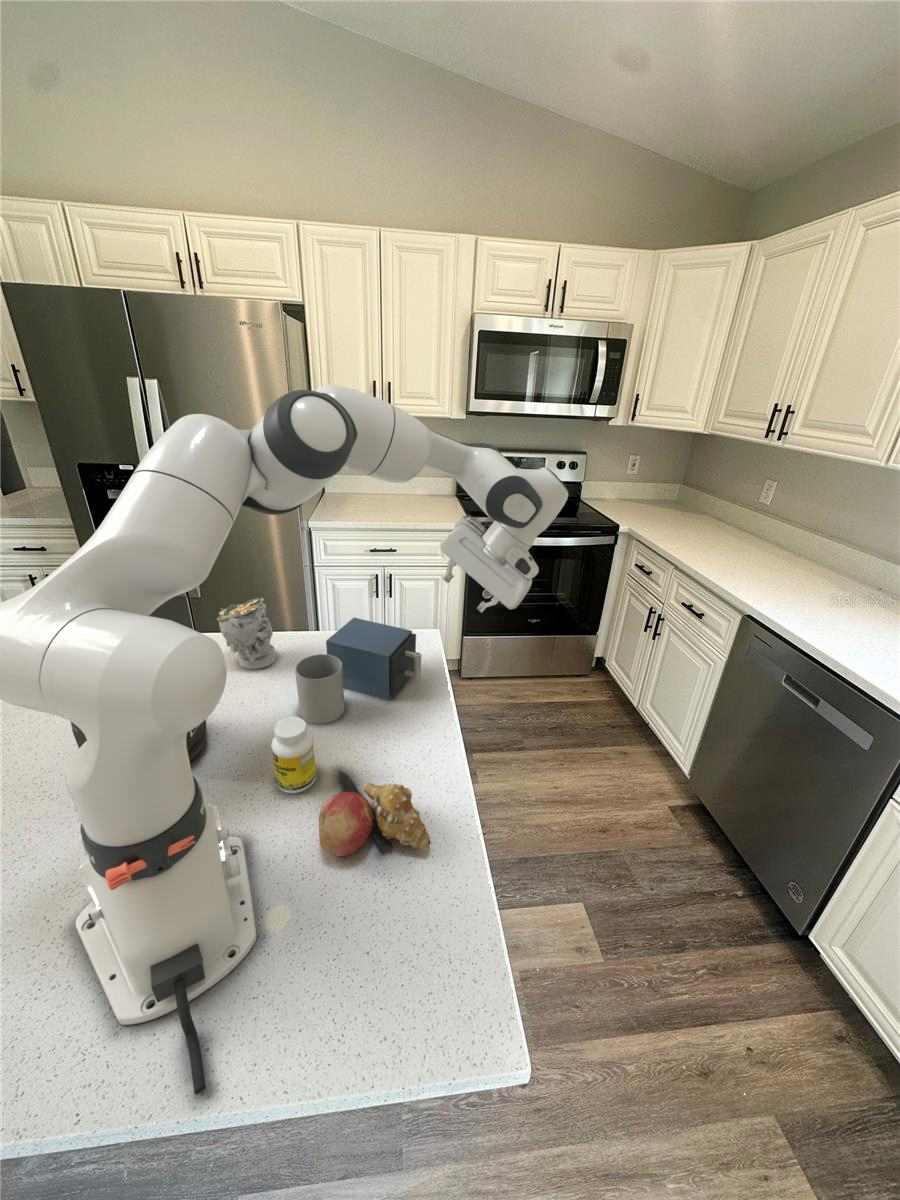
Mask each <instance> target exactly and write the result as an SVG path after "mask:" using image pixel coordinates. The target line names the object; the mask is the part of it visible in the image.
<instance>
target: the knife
mask: <svg viewBox="0 0 900 1200" xmlns="http://www.w3.org/2000/svg"><path fill="white" fill-rule="evenodd" d="M349 775H350V774H347V773H346V772H343V771H342V770H340V769H338V776H339V781H340V785H341V787H342V788H343V791H344V790H345V791H344V792H356V793H359V794H360V795H362V793H361V792H360V790H359V789H358V787H357V786H356V784H355V783H354V781H353V779H352V778H351V776H349ZM371 808H372V811H373V812H375V810H374V809H373V806H372V807H371ZM373 816H374V814H373ZM376 819H377V818H376V816H374V824H373V827H372V829H371V832H370V835H371V837H372V838H373V840H374V841H375V843H376V845H377V846H378V848H379V850H380V851H382V852H386V851H391V850H392V849H393V846H392V845H393V841H392V840H390V839H386V838H385V836H384V835H382V832H381V830H380V829H379V828H378V824H377V820H376Z"/></svg>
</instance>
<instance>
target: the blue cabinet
mask: <svg viewBox="0 0 900 1200" xmlns="http://www.w3.org/2000/svg"><path fill="white" fill-rule="evenodd" d="M412 634H413V630H412V629H407V628H401V627H398V626H393V625H388V624H384V623H379V622H375V621H371V620H366V619H362V618H359V617H353V618H351V619H350V620H349V621H348V622H347V623H346V624H344V625H343V626H342V627H340V629H338V630H337V631H336V632H335V633H334V634H332V635H331V636H330V637H329V638H327V639H326V640H325V646H326V655H332V656H334V657H337V658H338V659H339V660H340V661H341V662H342V672H343V689H346V690H350V691H354V692H357V693H361V694H365V695H367V696H372V697H375V698H379V699H383V700H387V701H391V699H392V697H391V666H390V658H391V657H392V656H393V655H394V653H395V652H396V651H397V650H398V649H399V648H400V647H401V646H402V645H403V644H404V643H405V641H406V640H407V639H408V638H409V637H410V636H411V635H412Z"/></svg>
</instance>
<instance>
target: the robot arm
mask: <svg viewBox="0 0 900 1200" xmlns="http://www.w3.org/2000/svg"><path fill="white" fill-rule="evenodd" d="M424 467H425V468H427V469H430V470H432V471H436V472H439V473H441V474H444V475H447V476H450V477H452V478H453V479H454V481H455V482H456V483H457V485H458V486H460V488H461V489H462V490H463V491H464V492H466V493H467V495H468V496H469V497H470V498H471V499H472V500H473V501H474V503H476V505H477V506H478V507H479V508H480V509H481V510H482V512H483V513H484V514H485V515H486V516H487V517H488V518H490V519H491V520H493V522H492V524H491V525H490V526H489V527H488V528H487V527H485V526H484V525H482V524H481V523H479V522H478V521H477V520H476V519H475V518H474V517H473V516H471V515H470V516H468V515H463V516H460V517H459V518H458V519H457V521H456V522H455V523H454V527H453V530H451V532H450V533H448V535H447V536H446V537H444V539H443V540H442V541H441V543H440V545H439V548H440V549H439V550H440V551H441V552H442V554H444V555H445V556H446V557H448V558H449V560H448V561H447V564H446V571H445V572H446V573H445V574H444V575H443V576H442V578H441V579H442V580H443V581H444V582H445V583H446V584H449V583H450V582H451V581H452V580H453V578H454V577H455V575H454V573H453V568H454V567H456V566H458V567H459V568H460V569H461V570H463V571H464V572H465V573H466V574H467V575H468V576H470V577H471V578H472V579H473V580H474V581H475V582H477V584H479V585H480V586H481V587H483V589H484V590H486V591H487V592H488V593H489V594H491V596H492V598H491V599H490V601H488V602H485V600H482V601H481V602H480V603H479V604H478V606H476V609H477V610H478V611H479V613H481V614H483V612H485V610H486V609H487V608H489V607H492V606H496V605H497V604H498V603H499V602H500V603H501V604H502V605H503V606H504V607H505V608H507V609H508V610H515V609H516V608H518V606H519V605H520V604H521V603H522V602H523V600H524V598H525V597H526V595H527V594H528V592H529V591H530V589H531V587H532V584H533V579H534V578H535V577H536V576H537V575H538V574H539V570H540V569H539V566H538V564H537V563H536V561H535V560H534V558H533V556H532V555H531V554H530V552H529V550H530V549H531V548H532V547H533V545H534V543H535V541H536V539H537V538H538V536H540V534H542V533H543V532H545V531H546V530H547V529H548V528H549V526H550V525H551V524H552V523H553V521H554V520H555V519H556V518H557V516H558V515H559V513H560V512H561V511H562V509H563V508H564V506H565V504H566V502H567V501H568V498H569V491H568V488H567V486H566V485H565V482H563V481H562V480H561V478H559V477H558V476H557V475H556V474H555V472H554V471H552V470H551V469H550V468H548V467H545V466H543V467H541V468H537V469H523V468H520V467H516V466H515V465H514V464H512V462H510V461H509V460H508V459H507V458H506V457H505V456H504V455H503V453H501V451H500V450H499V449H498V448H497V447H496V446H494V445H492V444H491V443H487V442H486V443H485V442H471V443H468V442H463V441H462V442H461V441H458V440H456V439H453V438H451V437H449V436H446V435H443V434H441V433H439V432H436V431H433V430H432V429H429V428H428V427H427V426H426V425H425V424H424V423H423V422H422V421H420V419H417V418H416V417H414V416H413V415H412V414H410V413H408V412H407V411H405V410H403V409H401V408H400V407H398V406H396V405H394V404H392V403H389V402H387V401H385V400H383V399H380V398H378V397H375V396H373V395H371V394H368V393H365V392H362V391H360V390H355V389H353V388H348V387H346V386H345V387H344V386H340V385H336V384H324V385H321V386H320V387H317V388H316V389H315V390H310V389H298V390H293V391H290V392H287V393H285V394H283V395H281V396H279V398H277V399H275V400H274V401H273V402H272V403H271V404H270V405H269V406H268V407H267V409H266V411H265V413H264V415H263V416H262V417H261V418H260V419H259V420H258V421H257V422H256V424H255V425H254V426H253V427H252V428H251V429H239V428H236V427H234V426H233V425H231V424H230V423H229V422H227V421H225V420H223V419H221V418H219V417H216V416H214V415H210V414H205V413H192V414H187V415H184V416H182V417H180V418H178V419H177V420H175V422H173V423H172V425H170V427H168V429H166V431H164V433H163V434H162V435H161V436H160V437H159V438H158V439H157V440H156V441H155V442H154V443H153V445H152V446H151V447H150V448H149V449H148V451H147V452H146V454H145V455H144V456H143V458H142V459H141V460H140V462H139V464H138V465H137V466H136V468H135V470H133V472H132V474H131V476H130V478H129V479H128V481H127V482H126V484H125V486H124V488H123V489H122V491H121V492H120V494H119V495H118V497H117V499H116V500H115V502H114V503H113V504H112V506H111V507H110V510H109V511H108V512H107V514H106V515H105V517H104V519H103V520H102V522H101V523H100V525H99V526H98V527H97V529H96V530H95V531H94V533H93V534H92V535H91V536H90V537H89V538H88V540H87V541H86V542H85V543H84V544H83V545H82V546H81V547H80V548H79V549H78V550H77V551H76V552H75V553H73V554H72V555H71V556H70V557H69V558H68V559H67V560H66V561H65V562H63V563H61V565H60V566H59V567H57V568H56V569H54V571H52V572H50V574H49V575H47V576H46V577H45V578H44V579H42V580H41V581H39V582H38V583H37V584H35V585H34V586H32V587H31V588H29V589H28V590H25V591H24V592H22V593H20V594H18V595H16V596H14V597H12V598H9V599H7V600H4V601H1V602H0V700H1V701H3V702H5V703H7V704H10V705H12V706H16V707H19V708H24V709H29V710H33V711H36V712H41V713H44V714H49V715H53V716H56V717H60V718H62V719H65V720H68V721H69V722H70V723H71V722H72V723H74V724H75V725H76V726H77V727H78V728H80V729H81V730H82V732H83V733H84V734H85V736H86V739H87V741H86V742H85V743H84V744H83V745H82V746H81V747H80V748H78V750H77V751H76V753H75V754H74V755H73V757H72V758H71V760H70V761H69V763H68V765H67V767H66V771H65V779H64V780H65V786H66V788H67V791H68V792H69V796H70V798H71V801H72V803H73V805H74V808H75V811H76V813H77V815H78V819H79V820H80V836H81V840H82V846H83V849H84V851H85V854H86V856H85V858H84V859H83V861H82V862H81V864H80V865H79V867H78V872H79V873H80V875H81V878H82V880H83V882H84V885H85V887H86V889H87V892H88V894H89V897H90V898H91V902H90V903H89V904H87V906H86V907H85V908H84V909H83V910H82V911H81V912H80V913H79V915H78V916H77V917H76V919H75V928H76V932H77V933H78V936H79V938H80V940H81V943H82V945H83V947H84V949H85V952H86V955H87V956H88V958H89V960H90V963H91V965H92V967H93V969H94V972H95V974H96V976H97V978H98V980H99V983H100V985H101V987H102V990H103V992H104V994H105V997H106V998H107V1000H108V1003H109V1005H110V1007H111V1009H112V1011H113V1014H114V1016H115V1017H116V1018H115V1019H116V1020H117V1021H118V1023H119V1024H120V1025H122V1026H128V1025H130V1026H131V1025H137V1024H141V1023H145V1022H150V1021H152V1020H155V1019H158V1018H160V1017H162V1016H164V1015H166V1014H168V1013H170V1012H172V1011H175V1010H177V1013H178V1019H179V1022H180V1026H181V1029H182V1031H183V1034H184V1036H185V1040H186V1045H187V1050H188V1055H189V1063H190V1070H191V1078H192V1087H193V1093H194V1095H199V1094H201V1093H202V1092H204V1091H205V1090H206V1089H207V1088H206V1087H207V1085H206V1084H207V1083H206V1079H205V1078H206V1077H205V1072H204V1064H203V1057H202V1051H201V1046H200V1045H201V1044H200V1040H199V1036H198V1032H197V1028H196V1026H195V1023H194V1021H193V1017H192V1014H191V1010H190V1005H189V1004H190V1003H189V1002H190V1001H192V1000H194V999H195V998H197V997H198V996H200V995H202V994H203V993H205V992H206V991H207V990H209V989H210V988H212V987H213V986H215V985H216V984H217V983H218V982H220V981H221V980H222V979H224V977H226V976H227V975H228V974H229V973H230V972H232V971H233V970H234V969H236V967H237V966H238V965H239V964H240V963H241V962H242V961H243V960H244V958H246V956H247V955H248V954H249V953H250V951H251V950H252V948H253V947H254V945H255V944H256V941H257V938H258V937H257V928H256V921H255V914H254V913H255V912H254V906H253V899H252V892H251V885H250V879H249V872H248V866H247V864H248V863H247V858H246V851H245V844H244V842H243V840H242V838H240V837H238V836H229V831H228V827H223V828H222V823H221V820H220V815H219V811H218V807H217V806H216V805H214V804H210V803H206V802H205V799H204V794H203V791H202V788H201V787H200V785H199V782H198V780H197V779H196V777H195V776H194V775H193V772H192V767H191V764H190V762H189V757H188V752H187V746H186V737H187V732H189V731H191V730H192V729H194V728H196V727H197V726H198V725H200V724H201V723H202V722H203V721H204V720H205V719H206V720H207V719H208V718H209V717H210V716H211V714H212V713H213V712H214V711H215V710H216V708H217V706H218V705H219V703H220V701H221V699H222V697H223V694H224V692H225V688H226V683H227V675H228V673H227V672H228V671H227V662H226V657H225V656H224V652H223V650H222V648H221V646H220V645H219V643H218V642H217V641H216V640H214V639H213V638H211V637H210V636H208V635H205V634H203V633H202V632H199V631H197V630H196V629H193V628H191V627H188V626H186V625H183V624H181V623H179V622H176V621H174V620H171V619H168V618H167V619H166V618H163V617H162V618H161V617H156V616H151V614H152V613H153V612H155V611H156V610H157V609H158V608H159V607H160V606H162V605H164V604H165V603H166V602H167V601H169V600H171V599H173V598H174V597H177V596H179V595H182V594H185V593H188V592H191V591H193V590H194V589H196V588H197V587H199V586H200V585H201V584H203V583H204V582H205V581H206V579H207V578H208V577H209V575H210V573H211V571H212V569H213V567H214V565H215V563H216V561H217V558H218V557H219V554H220V552H221V550H222V548H223V546H224V544H225V542H226V540H227V538H228V535H229V534H230V531H231V529H232V527H233V525H234V523H235V520H236V518H237V516H238V514H239V511H240V509H241V507H245V508H249V509H251V510H253V511H256V512H258V513H261V514H264V515H271V516H278V515H284V514H288V513H291V512H293V511H295V510H297V509H299V508H300V507H301V506H302V505H303V504H304V503H305V502H307V501H308V500H309V499H311V498H312V497H314V496H315V495H317V494H318V493H320V492H321V491H322V489H324V487H326V485H328V484H329V482H330V481H331V480H332V478H333V477H334V476H335V475H337V474H338V473H339V472H340V471H342V469H343V468H347V469H350V470H353V471H355V472H358V473H359V474H362V475H365V476H368V477H369V478H370V477H371V478H373V479H376V480H378V481H379V480H380V481H383V482H388V483H394V484H405V483H407V482H410V481H411V480H413V479H414V478H415V477H417V476H418V475H419V474H420V473H421V471H422V470H423V468H424ZM233 954H234V955H233ZM231 955H233V957H231ZM152 1004H154V1005H153V1006H152ZM150 1006H152V1007H151V1008H149V1007H150Z"/></svg>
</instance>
